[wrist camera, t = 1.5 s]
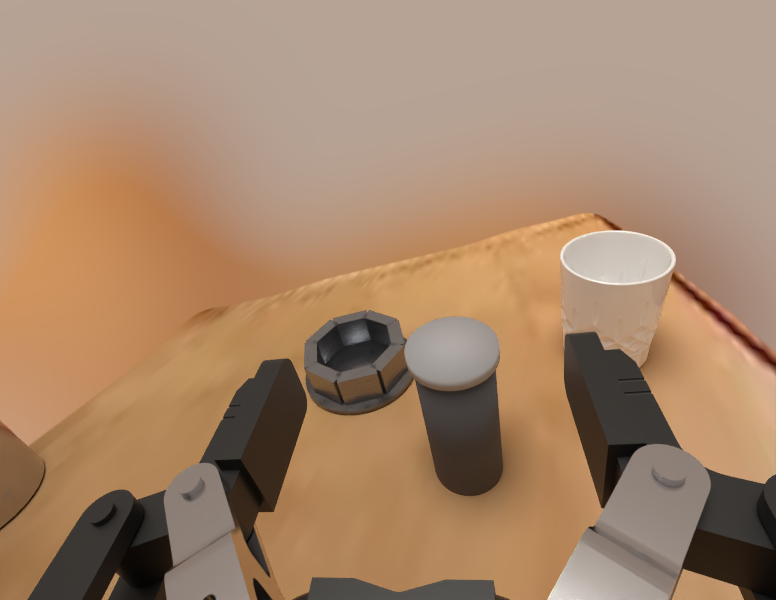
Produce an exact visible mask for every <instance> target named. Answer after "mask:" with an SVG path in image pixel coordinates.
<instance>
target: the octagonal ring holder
mask: <svg viewBox="0 0 776 600" xmlns="http://www.w3.org/2000/svg"><path fill="white" fill-rule="evenodd" d="M406 342H407V340H406V339H405V338H404V337H403V335H402V331H401V328H400V324H399V320H398V321H397V319H396V318H393V317H390V316H386V315H383V314H380V313H377V312H374V311H370V310H369V311H368V312H367V311H366V310H365V311H361V312H357V313H353V314H349V315H345V316H340V317H336V318H333V321H332V320H329V321H328V322H327V323H326V324H325V325H324V326H322V327H321V328H320V329H319V330H318V331H317V332H316V333H314V334H313V335H312V336H311V337H310V338H309V339H308V340H307V343H305V354H304V369H305V371H306V386H307V389H308V392H309V394H310V396H311V398H312V399H313V401H314V402H315V403H316V404H317V405H318V406H319V407H321V408H323V409H324V410H327V411H329V412H332V413H336V414H342V415H357V414H364V413H368V412H372V411H375V410H377V409H380V408H382V407H384V406H386V405H388V404H390V403H391V402H393V401H394V400H396V399H397V398H398V397H399V396H401V395H402V394H403V393H404V392H405V391H406V389H407V388H408V387H409V385H410V384H411V382H412V380H413V379H414V378H413V377H412V376H411V374H410V372H409V370H408V368H407V364H406V360H405V354H404V349H405V345H406Z"/></svg>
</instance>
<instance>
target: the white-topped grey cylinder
mask: <svg viewBox="0 0 776 600" xmlns="http://www.w3.org/2000/svg"><path fill="white" fill-rule="evenodd" d="M404 354H405V360H406V364H407V368H408V370H409V372H410V374H411V376H412V377H413V378H414V379H415V381H416V385H417V390H418V394H419V399H420V403H421V408H422V412H423V416H424V421H425V425H426V430H427V434H428V439H429V443H430V447H431V452H432V456H433V461H434V465H435V470H436V473H437V476H438V478H439V480H440V481H441V483H442V484H443V485H444V486H445V487H446V488H447V489H449V490H450V491H452V492H454V493H457V494H460V495H465V496H474V495H479V494H482V493H485V492H487V491H489V490H490V489H491V488H493V487H494V486H495V485H496V484H497V482H498V481H499V479H500V477H501V474H502V469H503V463H502V449H501V435H500V422H499V408H498V395H497V381H496V368H497V366H498V363H499V359H500V351H499V341H498V338H497V335H496V334H495V332H494V331H493V330H492V329H491V328H490V327H489V326H487V325H486V324H484V323H483V322H480V321H478V320H475V319H472V318H467V317H445V318H440V319H436V320H433V321H431V322H428V323H426V324H424V325H423V326H421V327H419V328H418V329H417V330H416V331H415V332H413V333H412V335H411V336H410V337H409V339H408V340H407V342H406V345H405V349H404Z"/></svg>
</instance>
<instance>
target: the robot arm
mask: <svg viewBox="0 0 776 600" xmlns="http://www.w3.org/2000/svg"><path fill="white" fill-rule="evenodd" d="M564 382H565V389H566V394H567V398H568V401H569V404H570V407H571V411H572V414H573V417H574V420H575V424H576V427H577V430H578V433H579V437H580V440H581V443H582V446H583V450H584V453H585V456H586V459H587V463H588V466H589V469H590V472H591V476H592V479H593V482H594V485H595V489H596V492H597V495H598V498H599V502H600V505H601V508H604V510H603V512H602V513H601V515H600V517H599V519H598V521H597V523H596V524H595V525H594V526H593V527H591V526H590V527H588V528H587V530H586V531H585V532H584V534H583V535H582V537H581V539H580V540H579V542H578V544H577V546H576V548H575V550H574V551H573V553H572V555H571V557H570V559H569V561H568V562H567V564H566V566H565V568H564V570H563V572H562V574H561V575H560V577H559V579H558V581H557V583H556V585H555V586H554V588H553V590H552V592H551V594H550V596H549V597H548V599H547V600H672V598H673V595H674V592H675V590H676V587H677V584H678V582H679V579H680V576H681V574H682V571H683V569H686V570H689V571H692V572H695V573H698V574H702V575H705V576H708V577H711V578H714V579H717V580H721V581H724V582H727V583H730V584H733V585H736V586H738V587H739V589H740V591H741V594H742V596H743V598H744V600H776V475H774V476H772V477H771V478H769V479H768V480H767V482H766V483H765V484H762V483H757V482H753V481H748V480H744V479H739V478H735V477H730V476H726V475H723V474H719V473H717V472H714V471H711V470H709V469H707V468H705V467H704V466H703V465H702V464H701V463H700V462H699V461H698V460H697V459H696V458H695V457H693V456H692V455H691V454H689V453H687V452H686V451H683V449H682V448H681V447H680V445H679V444H678V442H677V440H676V438H675V436H674V434H673V432H672V430H671V428H670V427H669V425H668V423H667V421H666V419H665V417H664V415H663V413H662V411H661V409H660V407H659V405H658V404H657V402H656V400H655V398H654V396H653V394H651V390H650V388H649V386H648V384H647V383H646V381H644V377H643V375H642V373H641V371H640V369H639V367H638V365H637V363H636V362H635V361H634V360H633V359H632V358H630V357H629V356H628V355H627V354H626V353H624V352H623V351H622V350H621V349H611V350H604V348H603V345H602V343H601V341H600V339H599V336H598V334H597V333H596V332H595V331H593V332H582V333H571V334H566V335H565V349H564ZM306 410H307V398H306V394H305V391H304V389H303V386H302V384H301V382H300V380H299V377H298V375H297V373H296V371H295V368H294V366H293V364H292V362H291V360H290V359H276V360H265V361H263V362H262V363H261V365H260V367H259V369H258V371H257V373H256V375H255V377H254V378H250V379H248V380H247V381H246V382H245V383H244V384H243V385H242V386H241V387H240V388H239V389H238V390H237V391H236V393H235V395H234V397H233V399H232V401H231V403H230V405H229V408H228V409H227V411H226V412H225V414H224V416H223V420H221V422H220V424H219V426H218V428H217V430H216V432H215V434H214V436H213V438H212V440H211V441H210V443H209V445H208V447H207V449H206V451H205V453H204V455H203V457H202V459H201V461H200V462H199V464H195V465H193V466H191V467H189V468H187V469H185V470H184V471H182V472H181V473H180V474H178V475H177V476H176V477H175V478H174V479H173V481H172V482H171V483H170V485H169V486H168V488H167V490H165V491H162V492H159V493H156V494H153V495H150V496H147V497H144V498H141V499H138V500H137V499H136V498H135V497H134V496H133V495H132V494H131V493H130V492H129V491H127V490H115V491H112V492H110V493H107V494H105V495H104V496H102V497H100V498H99V499H97V500H96V501H95V502H94V503H92V504H91V505H90V506H89V507H88V508H87V509H86V510H85V512H84V513H83V514H82V515H81V517H80V518H79V520H78V521H77V523H76V525H75V526H74V528H73V529H72V531H71V532H70V534H69V536H68V537H67V539H66V540H65V542H64V543H63V545H62V546H61V548H60V550H59V551H58V553H57V554H56V556H55V557H54V559H53V561H52V562H51V564H50V565H49V567H48V568H47V570H46V571H45V573H44V575H43V576H42V578H41V579H40V581H39V582H38V584H37V586H36V587H35V589H34V590H33V592H32V593H31V595H30V596H29V598H28V600H101V599H102V598H103V596H104V594H105V592H106V590H107V588H108V586H109V584H110V582H111V580H112V578H113V576H114V574H115V572H116V573H117V574H118V575H119V576H120V577H119V579H118V581H117V583H116V585H115V587H114V589H113V591H112V593H111V595H110V597H109V599H108V600H285V598H284V597H283V595H282V593H281V591H280V589H279V587H278V584H277V582H276V579H275V576H274V573H273V570H272V568H271V565H270V562H269V559H268V556H267V553H266V551H265V548H264V545H263V542H262V539H261V537H260V534H259V531H258V528H257V526H256V524H255V520H256V518H257V515H258V512H274V509H275V506H276V503H277V500H278V497H279V494H280V491H281V488H282V485H283V482H284V479H285V476H286V473H287V469H288V466H289V463H290V460H291V457H292V454H293V451H294V448H295V445H296V442H297V439H298V436H299V433H300V430H301V427H302V424H303V420H304V417H305V414H306ZM43 474H44V463H43V461H42V459H41V458H40V457H39V456H38V455H37V454H36V453H35V452H33V451H32V450H31V449H30V448H29V447H28V446H27V445H26V444H25V443H24V442H22V441H21V440H20V439H19V438H18V437H17V436H16V435H15V434H14V433H13V432H12V431H11V430H10V429H9V428H8V427H7V426H6V425H4V424H3V423H2V422H1V421H0V528H1V527H2V526H3V525H4V524H5V523H7V522H8V521H9V520H10V519H11V518H13V517H14V516H15V515H16V514H17V513H18V512H19V511H20V510H21V509H22V508H23V507H24V506H25V504H26V503H27V502H28V501H29V499H30V498H31V497H32V496H33V494H34V493H35V491H36V489H37V488H38V486H39V485H40V482H41V480H42V477H43ZM293 600H509V599H507V598H504V597H502V596H499V595H496V593H495V587H494V581H493V580H443V581H439V582H436V583H432V584H429V585H425V586H421V587H418V588H414V589H410V590H407V591H403V592H394V591H391V590H388V589H385V588H382V587H379V586H376V585H373V584H370V583H367V582H364V581H361V580H358V579H355V578H312V581H311V586H310V590H309V593H305V594H303V595H301V596H299V597H296V598H294V599H293Z"/></svg>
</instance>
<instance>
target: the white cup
mask: <svg viewBox="0 0 776 600" xmlns="http://www.w3.org/2000/svg"><path fill="white" fill-rule="evenodd" d="M675 262H676V258H675V254H674V252H673V251H672V250H671V248H670V247H669V246H668V245H666V244H665V243H663V242H662V241H660V240H658V239H656V238H653V237H650V236H647V235H644V234H640V233H636V232H629V231H599V232H593V233H589V234H585V235H582V236H579V237H577V238H575V239H573V240H571V241H570V242H568V243H567V244H566V245H565V246H564V247H563V249H562V251H561V253H560V273H561V309H562V325H563V349H565V335H566V334H571V333H582V332H593V331H595V332H596V333H597V334H598V336H599V339H600V341H601V343H602V345H603V348H604V350H611V349H621V350H622V351H623V352H624V353H626V354H627V355H628V356H629V357H630V358H632V359H633V360H634V361H635V362H636V363H637V365H638V367H639V368H640V367H641V366H642V365H643V364H644V362H645V361H646V360H647V356H648V352H649V348H650V344H651V341H652V339H653V336H654V334H655V332H656V329H657V325H658V321H659V319H660V316H661V313H662V309H663V306H664V302H665V299H666V295H667V291H668V287H669V284H670V280H671V277H672V273H673V269H674V266H675Z"/></svg>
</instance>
